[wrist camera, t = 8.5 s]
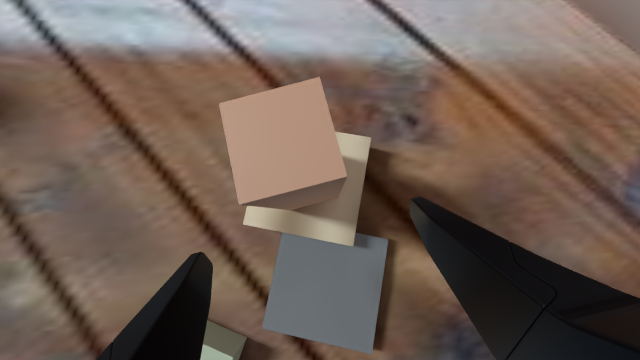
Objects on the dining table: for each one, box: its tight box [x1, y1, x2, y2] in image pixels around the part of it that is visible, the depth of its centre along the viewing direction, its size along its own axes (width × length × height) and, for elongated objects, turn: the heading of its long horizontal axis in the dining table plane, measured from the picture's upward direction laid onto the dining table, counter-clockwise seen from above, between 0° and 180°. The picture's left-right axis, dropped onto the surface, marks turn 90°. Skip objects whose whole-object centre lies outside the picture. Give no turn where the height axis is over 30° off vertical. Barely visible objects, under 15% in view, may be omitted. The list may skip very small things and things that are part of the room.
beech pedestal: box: [243, 132, 371, 246], centre depth 20 cm, size 9×9×2 cm
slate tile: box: [262, 232, 389, 354], centre depth 19 cm, size 9×9×1 cm
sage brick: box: [200, 320, 247, 360], centre depth 18 cm, size 6×3×3 cm, turn 70°
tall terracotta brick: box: [219, 77, 347, 210], centre depth 14 cm, size 4×4×10 cm
